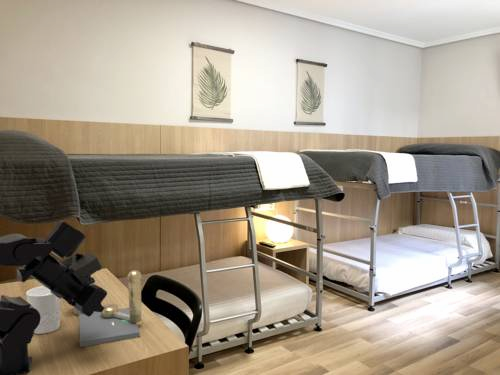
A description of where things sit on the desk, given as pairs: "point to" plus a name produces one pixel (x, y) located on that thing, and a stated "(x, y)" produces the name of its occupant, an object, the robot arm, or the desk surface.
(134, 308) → the brass crank handle
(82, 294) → the robot arm
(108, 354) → the desk surface
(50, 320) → the white cup
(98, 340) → the gray board
